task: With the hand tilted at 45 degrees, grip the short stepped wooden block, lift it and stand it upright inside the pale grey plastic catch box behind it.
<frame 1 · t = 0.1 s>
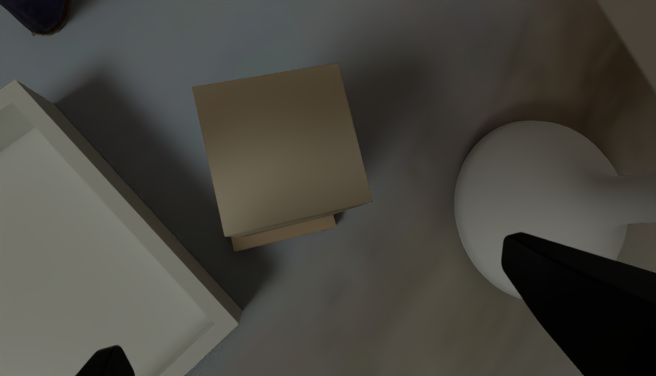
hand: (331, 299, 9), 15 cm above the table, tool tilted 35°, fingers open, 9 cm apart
flower in vase: (530, 205, 27), on the table
stepped wooden block: (274, 190, 24), on the table
catch box: (25, 308, 21), on the table
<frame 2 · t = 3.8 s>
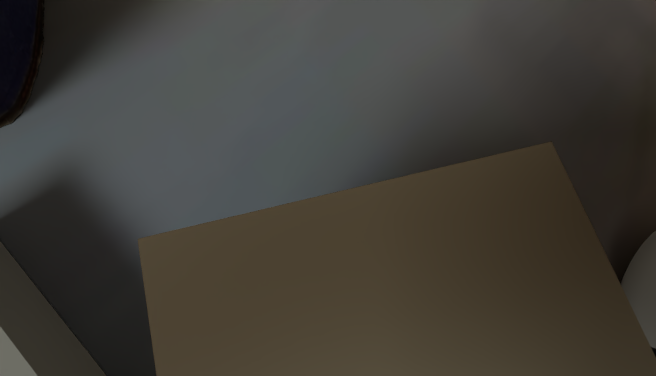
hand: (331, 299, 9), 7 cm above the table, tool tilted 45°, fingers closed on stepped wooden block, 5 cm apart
stepped wooden block: (321, 345, 15), on the table, touching gripper
flask: (11, 41, 18), on the table
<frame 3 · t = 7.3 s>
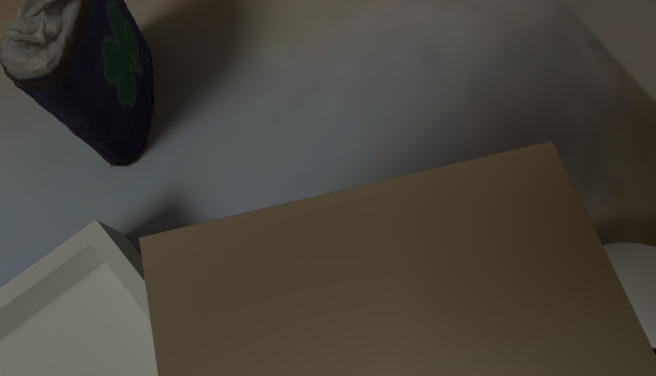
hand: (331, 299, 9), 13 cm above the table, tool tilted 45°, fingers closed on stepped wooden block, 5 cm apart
flower in vase: (633, 337, 23), on the table
stepped wooden block: (321, 344, 15), point 7 cm above the table, touching gripper
flask: (130, 101, 25), on the table
when the fingers open (8 cm above the table, at t = 10.7 s): stepped wooden block drops 1 cm, resting on catch box.
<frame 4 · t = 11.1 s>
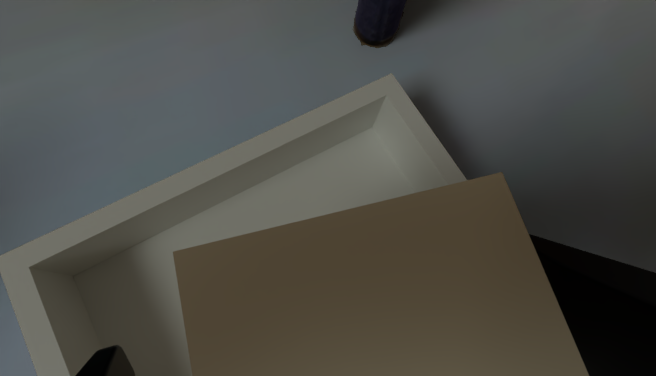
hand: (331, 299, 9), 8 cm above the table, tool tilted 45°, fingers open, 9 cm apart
stepped wooden block: (318, 341, 16), point 1 cm above the table, touching catch box
catch box: (317, 342, 16), on the table
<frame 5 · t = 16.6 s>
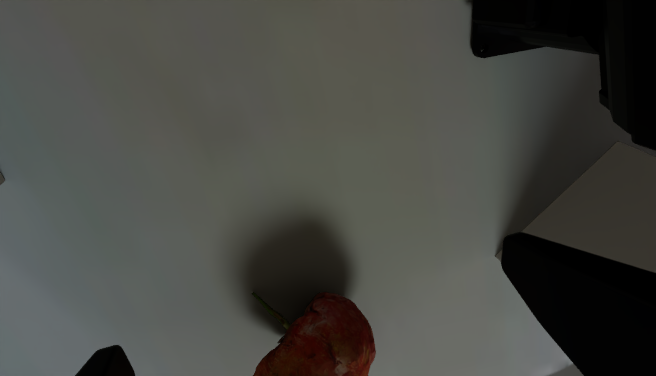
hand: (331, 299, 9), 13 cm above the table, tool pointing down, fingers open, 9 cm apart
red fruit: (299, 311, 27), on the table
milk: (583, 239, 31), on the table
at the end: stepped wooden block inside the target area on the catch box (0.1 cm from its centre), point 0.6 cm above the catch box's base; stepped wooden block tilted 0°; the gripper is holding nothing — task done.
